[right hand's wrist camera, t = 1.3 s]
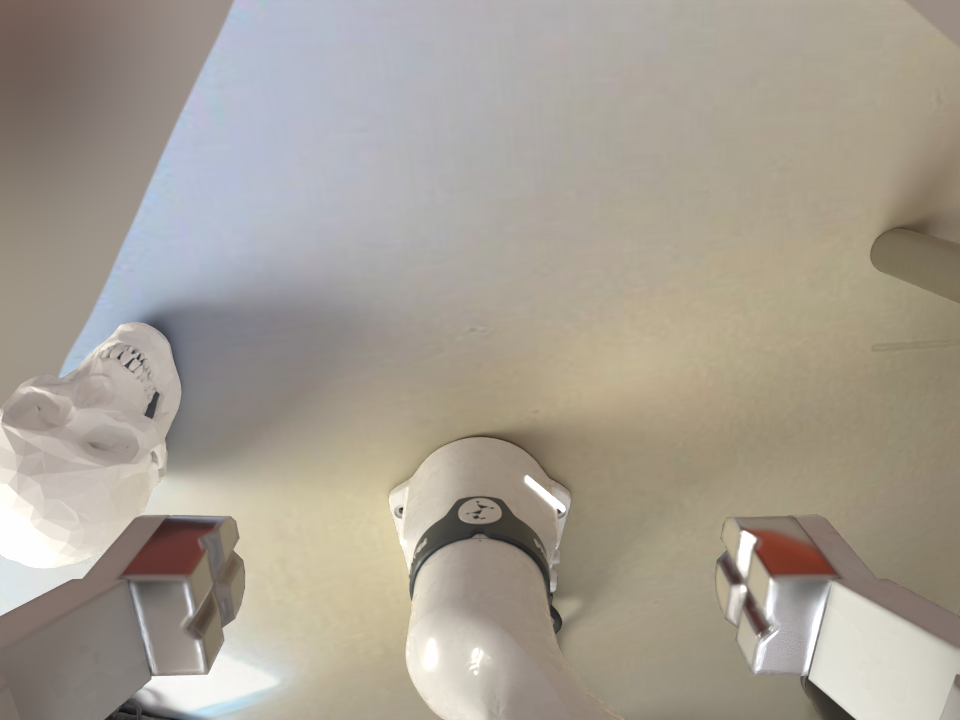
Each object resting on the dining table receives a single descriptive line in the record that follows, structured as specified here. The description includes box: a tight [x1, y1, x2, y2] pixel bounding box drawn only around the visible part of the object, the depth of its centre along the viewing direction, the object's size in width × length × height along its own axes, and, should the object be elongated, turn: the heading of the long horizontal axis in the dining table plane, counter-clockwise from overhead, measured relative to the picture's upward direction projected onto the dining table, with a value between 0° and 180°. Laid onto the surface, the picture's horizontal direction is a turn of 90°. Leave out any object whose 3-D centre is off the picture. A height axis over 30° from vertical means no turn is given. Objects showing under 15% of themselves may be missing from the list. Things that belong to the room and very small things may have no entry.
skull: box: [0, 322, 182, 568], centre depth 56 cm, size 13×22×16 cm, turn 156°
